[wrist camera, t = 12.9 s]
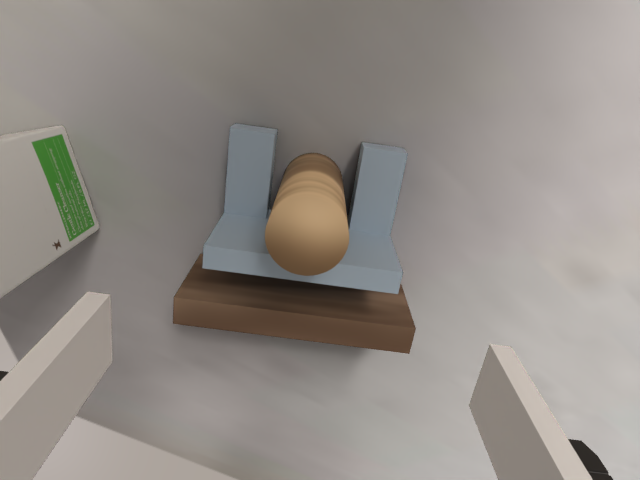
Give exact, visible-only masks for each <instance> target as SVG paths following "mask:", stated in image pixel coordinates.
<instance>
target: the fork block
mask: <svg viewBox="0 0 640 480" xmlns="http://www.w3.org/2000/svg"><path fill="white" fill-rule="evenodd" d="M277 132H278V129H271V128H264V127H258V126H251V125H244V124H237V123H235V124H234V125H232V126H231V127H230V133H229V148H228V162H227V176H226V191H225V205H224V213H223V215H222V217H221V218H220V220H219V221H218V223H217V225H216V226H215V228H214V230H213V231H212V233H211V234H210V236H209V238H208V239H207V241H206V242H205V244H204V247H203V266H202V268H205V269H212V270H220V271H227V272H235V273H242V274H250V275H257V276H265V277H272V278H280V279H288V280H295V281H303V282H310V283H318V284H325V285H333V286H340V287H348V288H355V289H363V290H370V291H378V292H385V293H393V294H398V292H399V288H400V283H401V279H402V275H403V271H402V268H401V265H400V262H399V259H398V257H397V254H396V251H395V248H394V245H393V242H392V239H391V237H390V234H391V230H392V225H393V220H394V216H395V211H396V206H397V202H398V197H399V193H400V188H401V183H402V179H403V174H404V169H405V165H406V160H407V156H408V153H407V152H406V151H405V149H404V148H400V147H393V146H387V145H380V144H373V143H366V142H362V143H361V149H360V155H359V160H358V166H357V172H356V177H355V183H354V189H353V194H352V200H351V206H350V211H349V217H348V229H349V245H348V248H347V251H346V253H345V255H344V257H343V258H342V260H341V261H340V262H339V263H338V264H337V265H336V266H335V267H333V268H332V269H330V270H329V271H327V272H324V273H322V274H318V275H313V276H303V275H297V274H294V273H291V272H289V271H286V270H285V269H283V268H282V267H280V266H279V265H278V264H277V263H276V262H275V261H274V260H273V258H272V257H271V256H270V254H269V252H268V250H267V247H266V243H265V229H266V225H267V222H268V219H269V217H270V214H271V211H272V210H269V206H270V197H271V188H272V178H273V169H274V160H275V151H276V141H277Z"/></svg>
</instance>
